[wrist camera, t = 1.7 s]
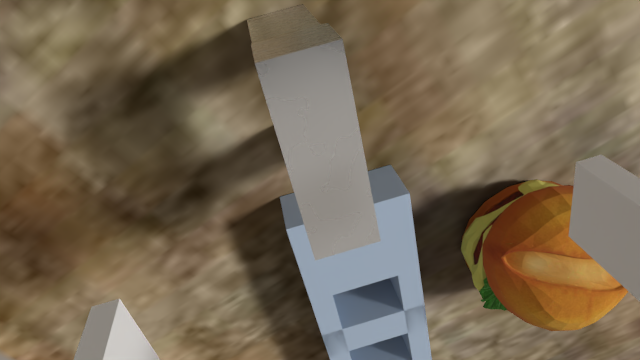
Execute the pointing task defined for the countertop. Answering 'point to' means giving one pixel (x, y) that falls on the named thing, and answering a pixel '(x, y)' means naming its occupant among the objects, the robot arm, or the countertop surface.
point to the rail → (368, 281)
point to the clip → (316, 127)
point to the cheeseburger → (536, 259)
